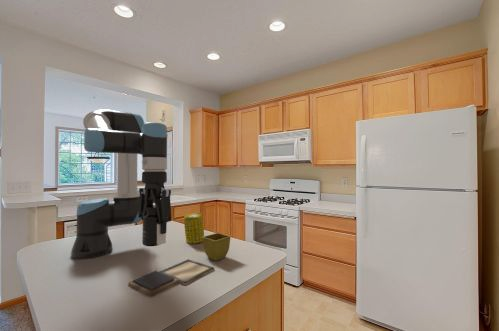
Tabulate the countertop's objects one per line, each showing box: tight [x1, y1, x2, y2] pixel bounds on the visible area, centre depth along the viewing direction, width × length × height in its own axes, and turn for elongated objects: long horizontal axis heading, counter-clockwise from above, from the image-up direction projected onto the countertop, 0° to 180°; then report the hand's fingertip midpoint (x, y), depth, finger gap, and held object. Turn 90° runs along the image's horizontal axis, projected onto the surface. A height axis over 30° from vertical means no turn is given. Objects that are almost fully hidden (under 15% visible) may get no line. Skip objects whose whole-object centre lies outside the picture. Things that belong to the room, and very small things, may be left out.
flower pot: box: [202, 232, 231, 261], centre depth 97 cm, size 9×9×9 cm
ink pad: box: [132, 270, 174, 291], centre depth 75 cm, size 10×8×1 cm
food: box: [183, 212, 205, 245], centre depth 119 cm, size 15×12×10 cm
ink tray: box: [127, 270, 179, 298], centre depth 75 cm, size 12×10×1 cm
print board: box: [158, 258, 215, 286], centre depth 84 cm, size 14×14×1 cm
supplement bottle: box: [141, 204, 159, 247], centre depth 75 cm, size 7×7×12 cm
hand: (154, 241), depth 75 cm, fingers closed on supplement bottle, 7 cm apart
